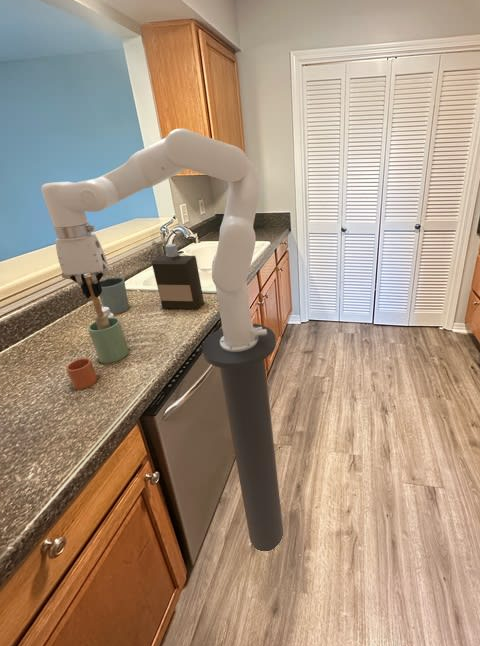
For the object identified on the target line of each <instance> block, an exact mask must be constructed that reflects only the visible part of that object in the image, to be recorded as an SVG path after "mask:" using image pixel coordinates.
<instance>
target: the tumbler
mask: <svg viewBox="0 0 480 646" xmlns="http://www.w3.org/2000/svg"><path fill="white" fill-rule="evenodd" d="M108 320H109V323H110V326H111V327H109V328H107V329H103V330H98V327H97V324H96V321H93V322H92V323H90V324H89V325H88V327H87V331H88V333H89V336H90V339H91V341H92V344H93V348H94V350H95V353H96V355H97V359H98V361H99V362H100V363H102V364H111V363H116V362H118V361H120V360H123V359H124V358H126V356H128V354H129V352H130V351H129V346H128V342H127V340H126V337H125V333H124V330H123V327H122V323H121V319H120V318H118V317H115V316H114V317H110V318H108Z"/></svg>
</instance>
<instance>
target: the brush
mask: <svg viewBox="0 0 480 646" xmlns="http://www.w3.org/2000/svg"><path fill="white" fill-rule="evenodd" d="M85 280H86V283H87V286H88V289H89V292H90V295H91V296H90V299H91V301H92V304H93V308H94V310H95V311H94V312H95V314H97V315H94V320H95V321H96V324H97V327H98V330H103V329H107V328H109V327H111V326H110V323H109V320H108V317H107V314H106V313H103V311H102V305H101V303H100V298H99V297H95V295H94V292H93V289H92V286H91V285H92V278H91V275H90V276H89V275H88V276H85ZM95 321H94V322H95Z"/></svg>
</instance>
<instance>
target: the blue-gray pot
mask: <svg viewBox="0 0 480 646" xmlns="http://www.w3.org/2000/svg"><path fill="white" fill-rule="evenodd" d="M99 281H100V285H101V288H102V292H101V294H100V295H99V300H100V301H101V304H102V307H109V309H110V313H113V315H116V314H121V313H123V312H126V311H128V309H129V308H130V304H129V298H128V293H127V288H126V282H125V278H124V277H119V276H113V277H107V278H103V279H100V280H99Z"/></svg>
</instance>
